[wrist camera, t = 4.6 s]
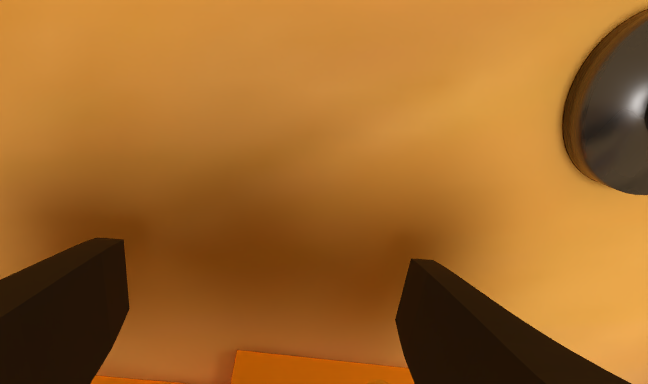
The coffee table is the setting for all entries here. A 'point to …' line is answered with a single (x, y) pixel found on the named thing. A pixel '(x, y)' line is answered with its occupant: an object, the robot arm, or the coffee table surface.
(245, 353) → the pipe clamp
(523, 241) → the coffee table surface
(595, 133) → the ball stud
